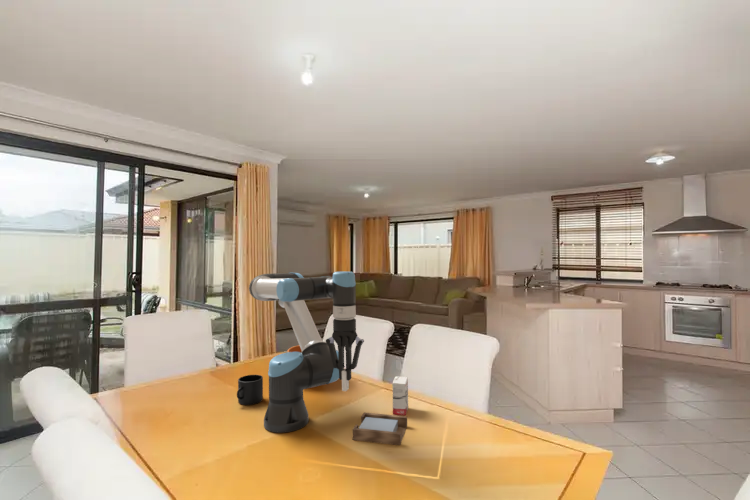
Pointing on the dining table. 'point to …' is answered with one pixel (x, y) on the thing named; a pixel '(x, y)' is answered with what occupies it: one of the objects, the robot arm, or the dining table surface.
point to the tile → (379, 424)
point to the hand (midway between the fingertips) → (345, 389)
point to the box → (378, 435)
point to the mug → (250, 389)
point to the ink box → (400, 395)
